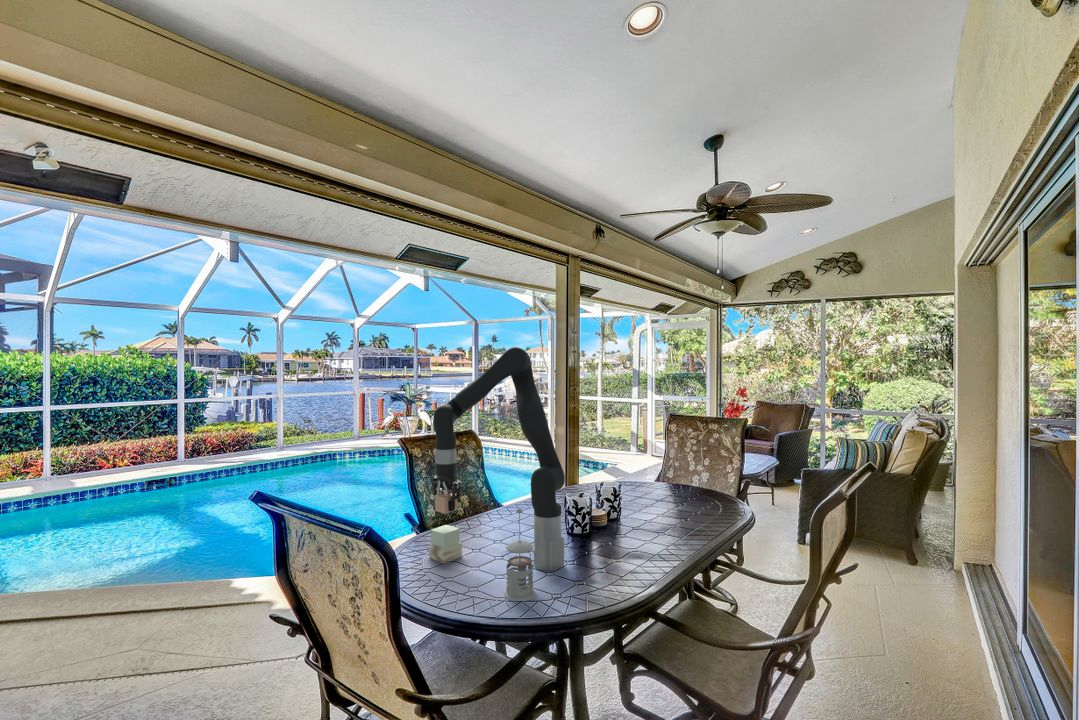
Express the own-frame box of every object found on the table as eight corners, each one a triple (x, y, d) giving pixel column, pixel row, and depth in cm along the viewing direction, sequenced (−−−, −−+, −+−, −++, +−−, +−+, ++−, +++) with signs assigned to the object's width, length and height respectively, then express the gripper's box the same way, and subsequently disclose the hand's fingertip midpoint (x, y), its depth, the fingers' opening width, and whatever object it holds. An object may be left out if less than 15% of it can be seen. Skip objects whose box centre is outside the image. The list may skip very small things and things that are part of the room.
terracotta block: (457, 510, 173) (457, 494, 173) (444, 513, 169) (444, 497, 169) (447, 507, 176) (447, 492, 176) (435, 510, 172) (435, 495, 172)
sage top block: (459, 542, 173) (459, 528, 173) (444, 548, 167) (444, 533, 167) (446, 538, 177) (446, 524, 177) (431, 544, 172) (431, 529, 172)
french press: (496, 596, 143) (495, 510, 143) (519, 581, 152) (519, 500, 153) (523, 605, 137) (523, 515, 137) (546, 589, 147) (545, 505, 147)
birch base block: (462, 557, 172) (461, 542, 172) (443, 564, 166) (443, 549, 166) (447, 551, 178) (447, 537, 178) (429, 558, 172) (429, 543, 172)
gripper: (467, 462, 171) (467, 510, 170) (442, 457, 180) (442, 503, 180) (450, 465, 165) (450, 515, 165) (425, 460, 175) (425, 507, 175)
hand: (446, 508), depth 172 cm, fingers closed on terracotta block, 5 cm apart
